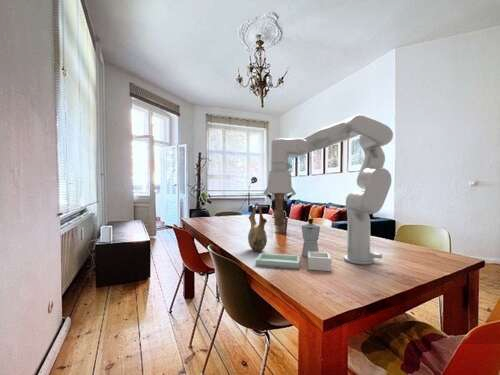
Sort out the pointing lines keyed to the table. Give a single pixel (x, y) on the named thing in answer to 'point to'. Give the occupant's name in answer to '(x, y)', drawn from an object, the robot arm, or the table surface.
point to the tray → (278, 260)
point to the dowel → (279, 209)
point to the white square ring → (319, 261)
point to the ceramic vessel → (257, 231)
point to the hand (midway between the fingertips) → (279, 209)
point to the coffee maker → (310, 238)
